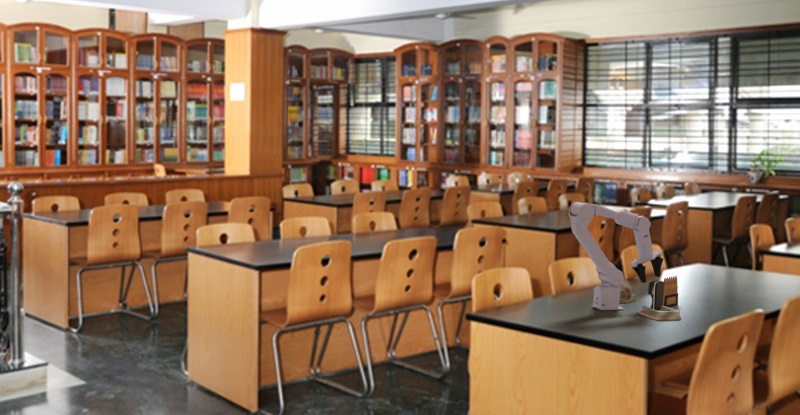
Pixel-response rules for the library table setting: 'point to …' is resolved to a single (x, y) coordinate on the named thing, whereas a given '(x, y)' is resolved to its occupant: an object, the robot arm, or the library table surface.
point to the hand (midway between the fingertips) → (650, 279)
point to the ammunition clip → (670, 292)
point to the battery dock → (661, 313)
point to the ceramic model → (626, 292)
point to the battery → (656, 294)
